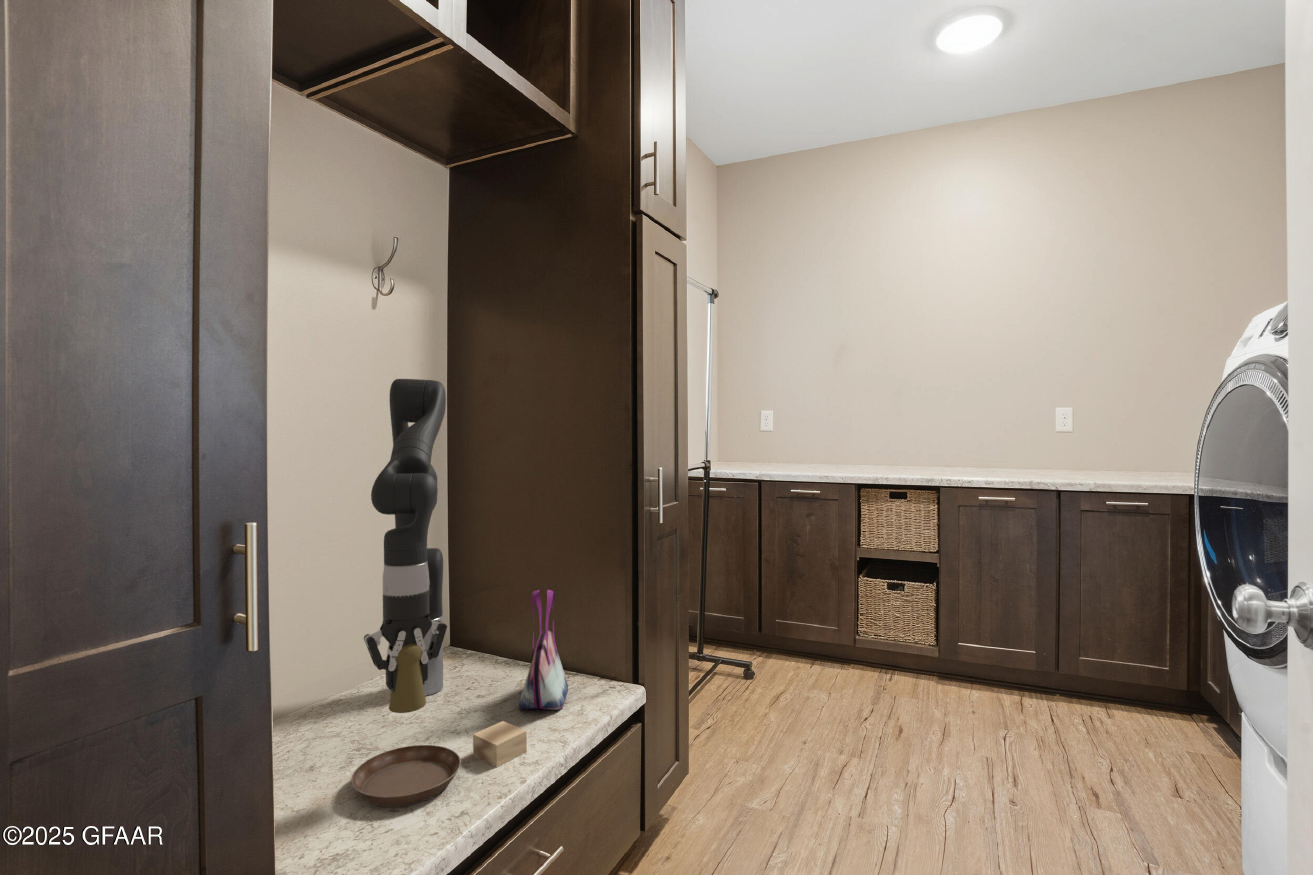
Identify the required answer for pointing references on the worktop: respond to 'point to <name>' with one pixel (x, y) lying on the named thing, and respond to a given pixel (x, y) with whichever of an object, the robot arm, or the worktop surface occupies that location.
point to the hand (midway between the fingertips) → (407, 686)
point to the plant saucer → (406, 775)
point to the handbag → (544, 667)
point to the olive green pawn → (408, 681)
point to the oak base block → (499, 743)
